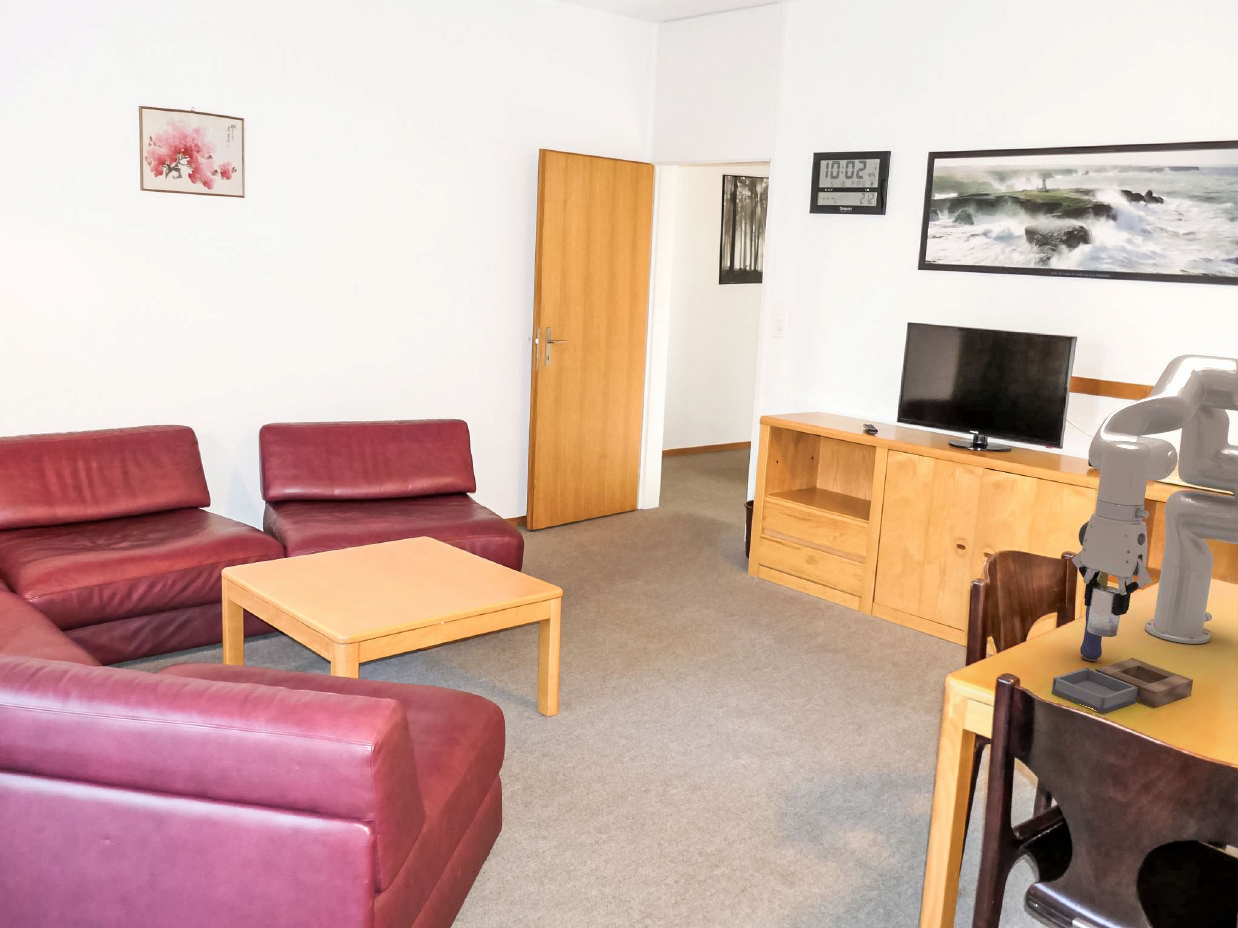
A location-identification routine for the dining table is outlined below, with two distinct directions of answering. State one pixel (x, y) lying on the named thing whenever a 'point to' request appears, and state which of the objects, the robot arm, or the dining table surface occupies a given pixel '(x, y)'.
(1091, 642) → the rubber mallet
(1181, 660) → the dining table surface
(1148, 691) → the holder block
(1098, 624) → the steel peg
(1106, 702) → the tray
